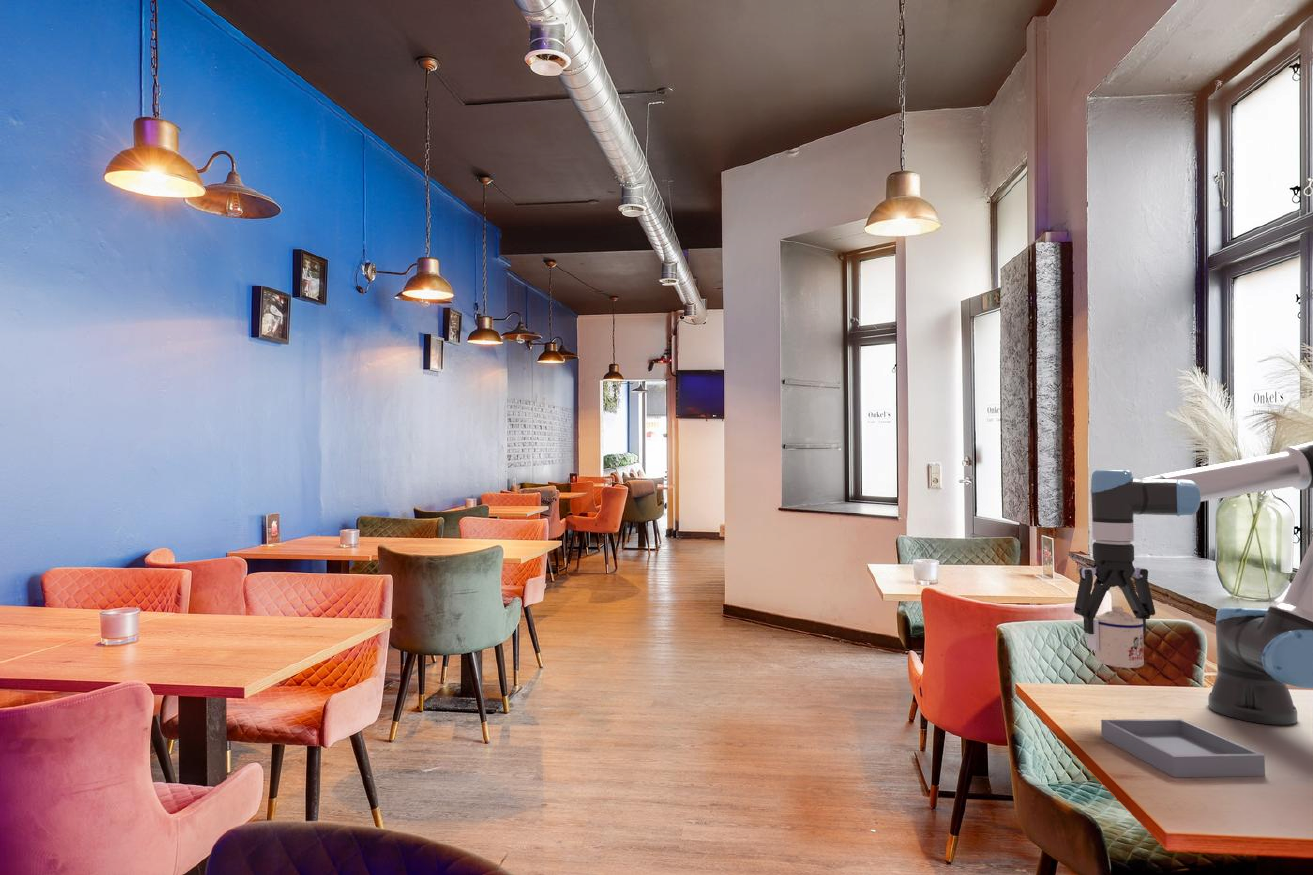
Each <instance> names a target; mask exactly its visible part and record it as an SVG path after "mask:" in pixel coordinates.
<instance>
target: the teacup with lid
mask: <svg viewBox="0 0 1313 875" xmlns="http://www.w3.org/2000/svg"><path fill="white" fill-rule="evenodd" d="M1135 617H1136V616H1134V615H1131V614H1130V613H1129V612H1126V611H1124V608H1123V607H1122V606H1118V605H1115V606H1112V607H1111V610H1109V611H1106V612H1104V613H1102V614H1096V616H1095V619H1098V620H1099V622H1098V623H1099V651H1094V655H1095V660H1096V662H1098V663H1100V664H1102V665H1103V664H1104V665H1107V666H1110V667H1118V668H1127V669H1131V668H1132V669H1133V668H1134V669H1136V668H1137V669H1138V668H1141V667H1143V666H1144V665H1145V663H1144V662H1145V661H1144V658H1145V657H1144V656H1145V655H1144V654H1145V653H1144V650H1143V644H1144V633H1143V626H1144V624H1143V621H1142V620H1140V619H1138V618H1135Z"/></svg>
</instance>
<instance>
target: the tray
mask: <svg viewBox="0 0 1313 875" xmlns="http://www.w3.org/2000/svg"><path fill="white" fill-rule="evenodd" d="M1100 722H1101V725H1100V727H1101V739H1102V740H1105V741H1106V742H1109V743H1110V744H1112V745H1114V746H1116V747H1117V748H1120V749H1122V750H1123V751H1125V752H1127V753H1129V754H1130V755H1132V756H1133V757H1135V758H1138V759H1140V760H1141V761H1143V762H1145V763H1147V764H1149V765H1151V766H1153V767H1154V768H1156V769H1158V770H1160V771H1162V772H1164V773H1165V774H1168V775H1169V776H1171V777H1172V778H1210V777H1211V778H1212V777H1213V778H1215V777H1217V778H1219V777H1223V778H1225V777H1266V759H1265V756H1266V755H1265V754H1262V753H1261V752H1258V751H1256V750H1253V749H1251V748H1249V747H1246V746H1244V745H1242V744H1240V743H1237V742H1235V741H1233V740H1232V739H1229V738H1225V737H1223V736H1221V735H1219V734H1217V733H1215V732H1212V731H1210V730H1207V729H1205V728H1203V727H1200V726H1198V725H1196V724H1194V723H1191V722H1189V721H1187V720H1184V719H1182V718H1149V719H1148V718H1146V719H1144V718H1137V719H1101V720H1100Z"/></svg>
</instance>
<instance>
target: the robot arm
mask: <svg viewBox="0 0 1313 875" xmlns="http://www.w3.org/2000/svg"><path fill="white" fill-rule="evenodd" d="M1090 483H1091V484H1090V498H1091V500H1090V501H1091V516H1092V517H1091V527H1092V529H1091V532H1092V540H1093V541H1095V542H1093V543H1091V544H1092V559H1093V561H1094V563H1093V565H1092V567H1089V568H1084V567H1079V570H1078V572H1079V578H1080V579H1079V584H1078V589H1077V594H1076V598H1075V604H1074V610H1073V612H1074V614H1076V615H1079V616H1081V617H1082V618H1083V631H1084V633H1085V634H1087V635H1086V638H1087V640H1086V641H1087V642H1086V644H1087V645H1086V646H1087V649H1089V650H1092V651H1094V652H1095V651H1099V623H1098V622H1099V620H1098V619H1095V616H1096V615H1098V611H1099V609H1100V606H1101V605H1102V603H1103V601H1104V598H1105V596H1106V594H1107V592H1108V591H1109V590H1110V589H1111V588H1114V587H1118V589H1120V590H1121V591H1122V594H1123V595H1124V597H1125V600H1126V602H1127V603H1128V606H1129V608H1130V610H1131V611H1132V613H1133V616H1134V617H1135V618H1138V619H1140V620H1142V621H1143V624H1144V626H1143V634H1146V633H1147V620H1150V619H1151V616H1155V615H1156V609H1155V605H1154V601H1153V596H1152V593H1151V588H1150V585H1149V580H1148V577H1149V570H1148V569H1147V568H1143V567H1142V568H1141V567H1135V565H1134V564H1133V562H1134V561H1135V545H1133V542H1134V541H1135V528H1134V527H1135V526H1134V515H1139V516H1141V515H1149V516H1151V515H1152V516H1157V515H1158V516H1177V517H1180V516H1192V515H1194V514H1196V513H1198V511H1199V509H1200V507H1201V503H1202V502H1207V501H1213V500H1217V499H1218V500H1219V499H1225V498H1231V497H1237V496H1243V495H1249V494H1254V493H1260V492H1262V493H1263V492H1266V491H1267V492H1268V491H1274V490H1279V489H1286V488H1291V487H1293V489H1296V490H1299V491H1301V490H1307V489H1308V490H1309V489H1313V441H1310V442H1306V443H1301V444H1296V445H1291V446H1287V447H1284V448H1283V449H1282V450H1281V451H1280V452H1278V453H1271V454H1268V455H1263V456H1262V455H1260V456H1255V457H1250V458H1245V459H1239V460H1233V461H1228V462H1227V461H1226V462H1222V463H1217V464H1211V465H1205V466H1199V467H1194V468H1189V469H1184V470H1183V469H1182V470H1177V471H1172V472H1166V473H1161V474H1157V475H1156V474H1155V475H1149V476H1144V477H1138V478H1135V477H1134V476H1133V473H1132V471H1131V470H1129V469H1125V470H1124V469H1098V470H1097V469H1096V470H1094V471H1093V472H1092V474H1091V480H1090ZM1309 543H1310V544H1309V545H1308V548H1307V550H1306V551H1305V554H1304V557H1303V558H1302V560H1301V562H1300V565H1299V567H1298V569H1297V571H1296V574H1295V576H1294V577H1293V579H1292V582H1291V583H1290V586H1289V588H1288V590H1287V592H1286V595H1285V596H1284V598H1283V600H1282V601H1281V602H1277V603H1273V604H1270V605H1269V607H1268V608H1260V607H1259V608H1258V607H1243V606H1242V607H1240V606H1238V607H1237V606H1221V607H1219V608H1218V609H1217V610H1216V615H1215V621H1214V622H1215V629H1216V630H1215V635H1216V636H1215V637H1216V663H1217V664H1216V665H1217V671H1216V672H1217V673H1216V676H1215V679H1214V683H1213V685H1212V688H1211V692H1210V693H1209V695H1208V698H1207V699H1208V701H1207V702H1208V705H1207V706H1208V708H1209V709H1211V711H1214V712H1216V713H1217V714H1220V715H1223V716H1225V717H1228V718H1229V717H1230V718H1233V719H1237V720H1241V721H1247V722H1251V723H1257V724H1265V725H1278V726H1282V725H1283V726H1285V725H1287V726H1288V725H1293V724H1296V723H1297V722H1298V709H1297V707H1296V706H1295V705H1294V702H1293V699H1292V696H1291V692H1290V690H1289V688H1288V686H1287V685H1289V686H1292V687H1295V688H1296V687H1297V688H1299V689H1302V688H1303V689H1313V538H1312V540H1311V541H1310V542H1309ZM1095 577H1096V578H1095ZM1132 577H1133V580H1134V583H1133V580H1132ZM1094 578H1095V581H1094ZM1092 588H1093V589H1092ZM1144 647H1145V646H1144V643H1143V651H1144Z"/></svg>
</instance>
